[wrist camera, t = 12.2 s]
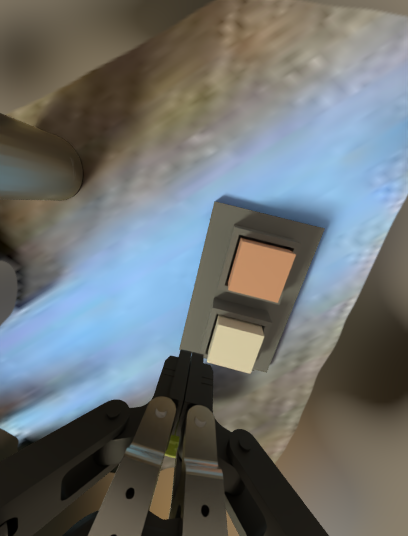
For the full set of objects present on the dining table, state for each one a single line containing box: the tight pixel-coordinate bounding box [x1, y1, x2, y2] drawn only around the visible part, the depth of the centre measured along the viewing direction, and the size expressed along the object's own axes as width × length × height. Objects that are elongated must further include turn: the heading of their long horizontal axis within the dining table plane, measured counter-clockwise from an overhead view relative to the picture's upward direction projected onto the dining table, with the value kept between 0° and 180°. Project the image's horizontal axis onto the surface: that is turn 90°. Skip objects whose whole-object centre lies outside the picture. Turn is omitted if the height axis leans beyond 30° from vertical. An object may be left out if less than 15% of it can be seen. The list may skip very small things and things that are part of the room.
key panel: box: [179, 202, 325, 373], centre depth 33 cm, size 16×26×5 cm, turn 167°
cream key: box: [207, 314, 264, 373], centre depth 32 cm, size 7×7×3 cm
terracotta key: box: [228, 238, 296, 303], centre depth 28 cm, size 7×7×3 cm
